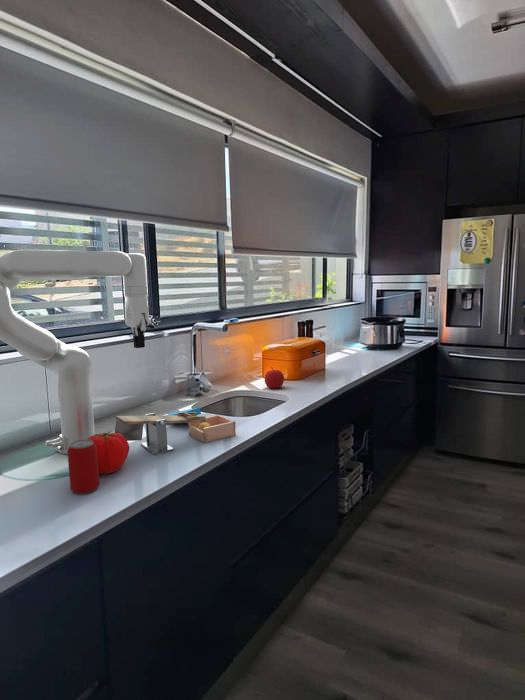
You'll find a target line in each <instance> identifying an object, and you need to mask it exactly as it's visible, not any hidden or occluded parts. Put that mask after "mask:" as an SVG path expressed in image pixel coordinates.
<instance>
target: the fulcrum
mask: <svg viewBox="0 0 525 700" xmlns="http://www.w3.org/2000/svg"><path fill="white" fill-rule="evenodd" d="M144 416H156V414H155V412H152V413H146V414H144ZM145 435H146V436H145V437H146V441H145V442H144V441H143V442H141V443H140V445H141V446H142V447H143V448H145V449H146V450H147V451H149V452H150V453H151V454H153V455H155V456H157V455H161V454H164V453H168V452H169V453H170V452H173V451H175V450H174V448H173V446H170V445H169V444H168V431H167V423H166V419H162V420H157V421H156V423H155V424H145Z"/></svg>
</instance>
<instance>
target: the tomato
mask: <svg viewBox="0 0 525 700" xmlns="http://www.w3.org/2000/svg"><path fill="white" fill-rule="evenodd" d="M111 432H112V430H110V431H108V432H102V433H101V432H100V433H95V435H93V436H90V437H89V438H88V440H92V441H93V443H94V444H95V446H96V447H97V458H98V471H99V474H105V475H106V474H110V473H115V472H117V471H119V470H120V469H121V468H122V467H123V465H124V463H125V462H126V460H127V458H128V456H129V452H130V445H129V444H130V443H129V441H127V440H126V439H125V438H124V437H123V436H122V435H121V434H119V433H115V432H112V433H111Z"/></svg>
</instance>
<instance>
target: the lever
mask: <svg viewBox="0 0 525 700" xmlns="http://www.w3.org/2000/svg"><path fill="white" fill-rule="evenodd" d="M177 412H178V415H168V414H165V415H155V416H145V415H116V417H115V427H114V433H119V434H121V435H122V436H123V437H124V438H125V439H126V440H127V442H131V441H132V442H133V441H134V442H135V441H143V434H144V433H143V432H144V425H146V424H155V423H156V421H157V420H162V419H166V424H187V423H188V424H189V423H199V422H205V419H206V416H205V415H203V416H200V415H197V416H196V412H179V411H177Z"/></svg>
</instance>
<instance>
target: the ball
mask: <svg viewBox="0 0 525 700" xmlns="http://www.w3.org/2000/svg"><path fill="white" fill-rule="evenodd" d="M206 427H210V425H209V424H208V423H206V422H204V423H201V424H200V426H199V429H200V430H202V431H203V428H206Z"/></svg>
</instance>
